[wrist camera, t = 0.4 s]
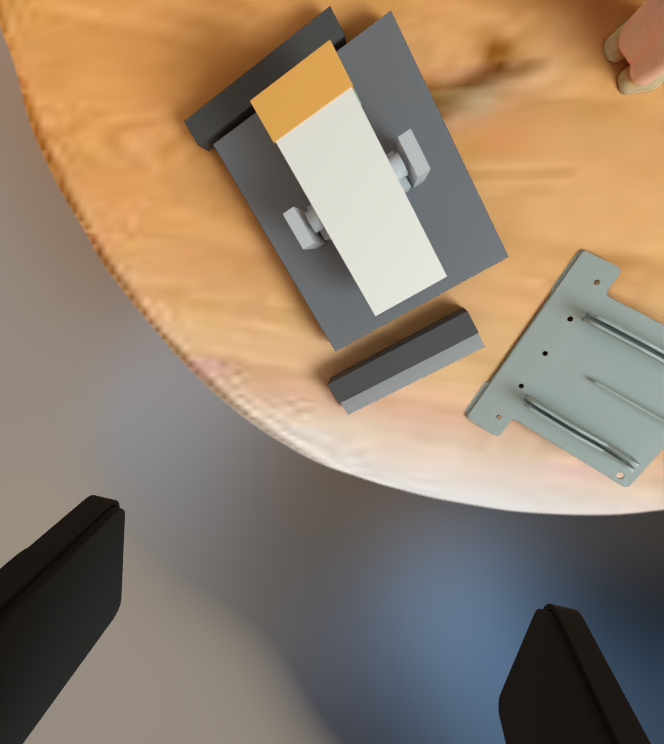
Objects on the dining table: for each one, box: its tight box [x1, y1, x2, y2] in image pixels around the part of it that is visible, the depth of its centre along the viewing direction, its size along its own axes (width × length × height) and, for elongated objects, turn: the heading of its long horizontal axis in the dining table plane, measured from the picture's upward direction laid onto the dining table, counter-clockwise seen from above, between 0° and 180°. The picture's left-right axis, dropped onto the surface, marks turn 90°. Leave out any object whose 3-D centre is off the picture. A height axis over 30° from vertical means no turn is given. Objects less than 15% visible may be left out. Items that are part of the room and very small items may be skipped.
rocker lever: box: [250, 40, 447, 316], centre depth 26 cm, size 6×14×2 cm, turn 31°
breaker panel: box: [213, 11, 508, 351], centre depth 28 cm, size 14×17×7 cm
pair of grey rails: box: [184, 6, 485, 415], centre depth 32 cm, size 13×25×2 cm, turn 31°
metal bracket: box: [466, 250, 664, 487], centre depth 32 cm, size 14×6×15 cm
